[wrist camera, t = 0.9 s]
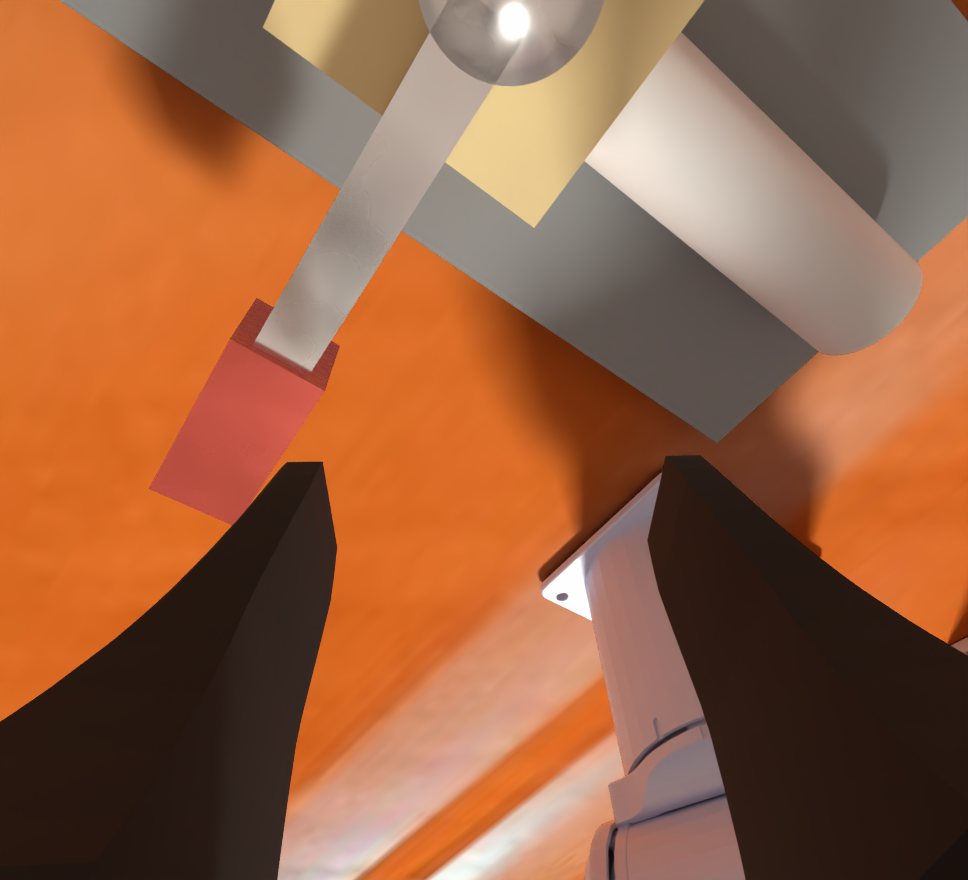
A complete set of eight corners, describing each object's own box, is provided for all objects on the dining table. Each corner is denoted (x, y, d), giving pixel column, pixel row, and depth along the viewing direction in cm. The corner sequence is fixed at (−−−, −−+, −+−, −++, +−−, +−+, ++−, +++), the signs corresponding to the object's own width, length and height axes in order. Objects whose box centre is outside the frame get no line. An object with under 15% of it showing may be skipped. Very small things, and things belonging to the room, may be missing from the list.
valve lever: (622, -46, 11) (652, -51, 9) (271, 480, 17) (251, 533, 15) (485, -181, 10) (491, -215, 8) (165, 429, 16) (130, 480, 14)
